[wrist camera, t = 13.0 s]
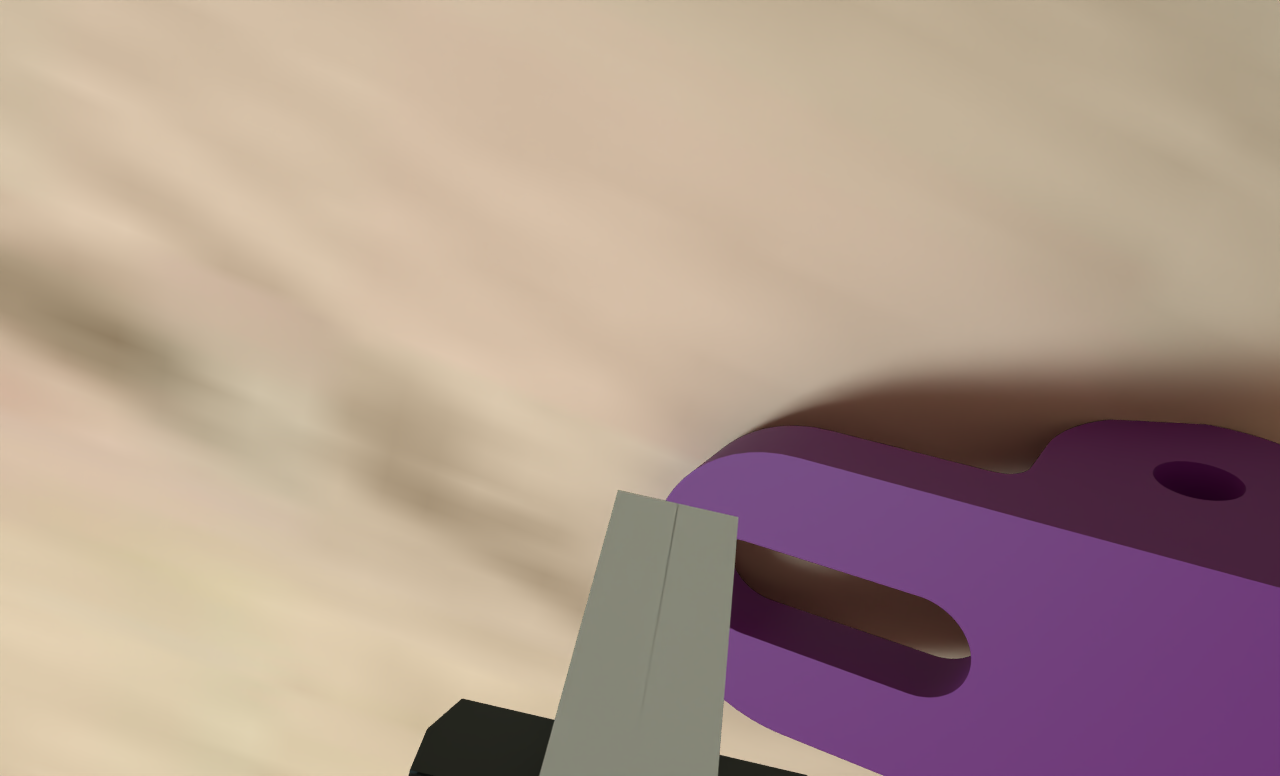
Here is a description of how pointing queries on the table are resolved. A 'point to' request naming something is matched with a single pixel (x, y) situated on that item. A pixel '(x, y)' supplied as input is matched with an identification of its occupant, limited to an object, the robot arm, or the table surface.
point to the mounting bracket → (1019, 601)
